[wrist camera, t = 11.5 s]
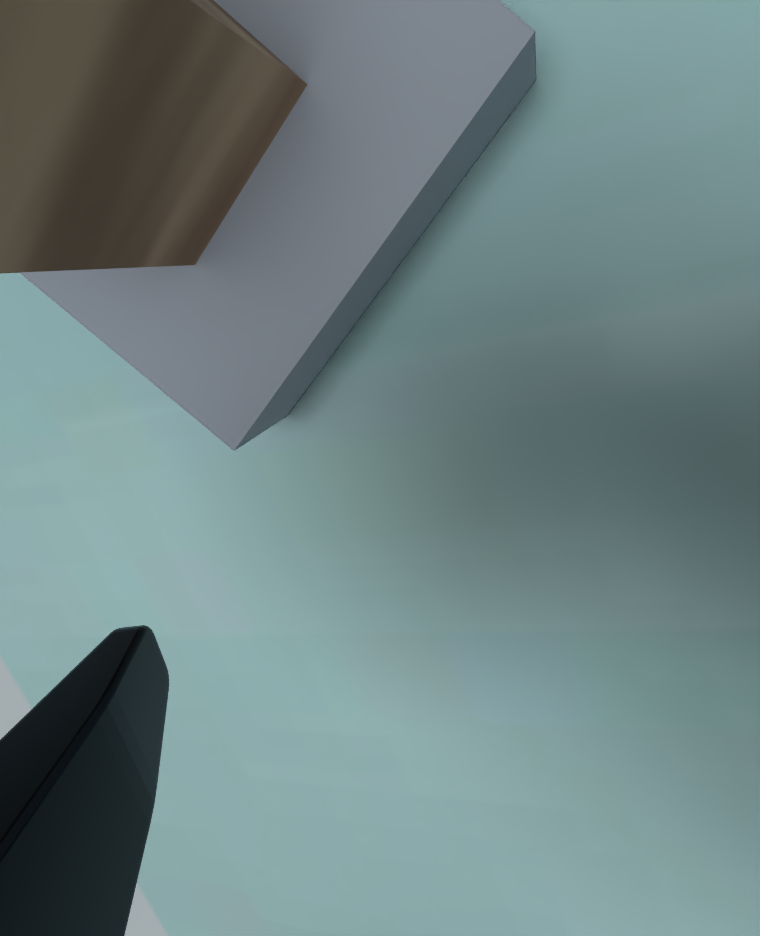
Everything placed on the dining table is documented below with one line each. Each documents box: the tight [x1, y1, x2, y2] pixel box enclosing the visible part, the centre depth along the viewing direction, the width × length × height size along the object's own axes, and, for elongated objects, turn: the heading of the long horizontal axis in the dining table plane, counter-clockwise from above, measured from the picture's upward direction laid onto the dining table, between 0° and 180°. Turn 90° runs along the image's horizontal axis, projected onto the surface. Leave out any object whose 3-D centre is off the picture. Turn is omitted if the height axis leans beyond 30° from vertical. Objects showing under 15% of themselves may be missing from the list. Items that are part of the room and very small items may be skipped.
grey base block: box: [19, 0, 536, 450], centre depth 17 cm, size 12×12×4 cm
